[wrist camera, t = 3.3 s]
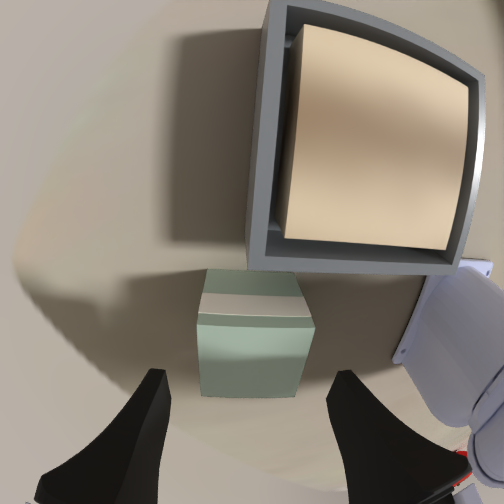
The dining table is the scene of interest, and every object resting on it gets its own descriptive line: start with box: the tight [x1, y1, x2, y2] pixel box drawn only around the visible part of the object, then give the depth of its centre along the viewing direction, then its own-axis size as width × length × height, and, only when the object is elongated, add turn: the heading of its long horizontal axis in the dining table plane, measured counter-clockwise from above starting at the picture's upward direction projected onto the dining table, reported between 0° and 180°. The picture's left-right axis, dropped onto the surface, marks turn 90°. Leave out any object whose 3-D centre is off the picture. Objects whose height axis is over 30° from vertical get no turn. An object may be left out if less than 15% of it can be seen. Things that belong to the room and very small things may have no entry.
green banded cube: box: [197, 269, 315, 398], centre depth 14 cm, size 5×5×5 cm
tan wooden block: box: [274, 24, 468, 250], centre depth 10 cm, size 8×8×3 cm
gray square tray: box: [245, 0, 486, 275], centre depth 11 cm, size 11×11×4 cm
